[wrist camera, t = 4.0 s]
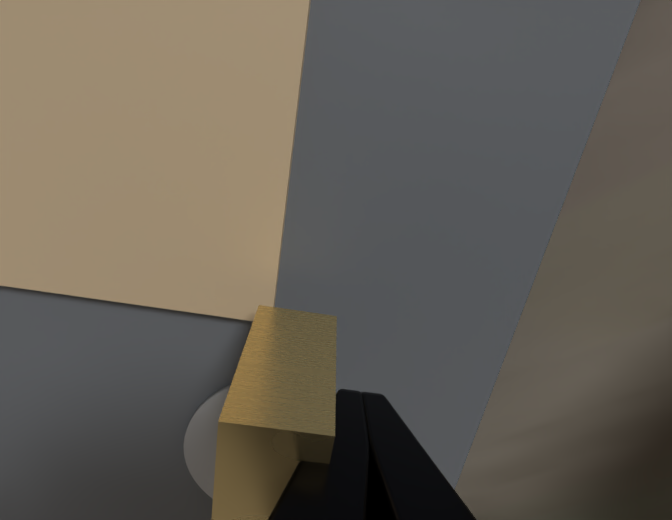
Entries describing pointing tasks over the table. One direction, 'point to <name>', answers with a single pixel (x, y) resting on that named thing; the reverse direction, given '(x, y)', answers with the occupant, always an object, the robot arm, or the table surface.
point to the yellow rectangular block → (275, 411)
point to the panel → (268, 217)
